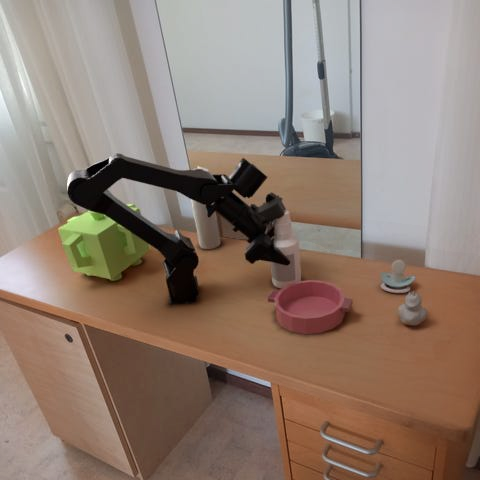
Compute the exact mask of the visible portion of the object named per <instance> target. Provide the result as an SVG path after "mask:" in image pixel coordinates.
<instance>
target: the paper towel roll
mask: <svg viewBox="0 0 480 480" xmlns="http://www.w3.org/2000/svg"><path fill="white" fill-rule="evenodd" d="M192 170H201V171H207V172H209V173H210V169H208V168H207V167H204V166H199V165H197V168H193V169H192ZM190 203H191V207H192V213H193V218H194V224H195V228H196V234H197V239H198V245H199V247H200V248H201V249H202V250H213V249H216V248H217V247H219V246H220V245H221V235H220V230H219V223H218V218H217V217H218V216H217V212H214V213H213V214H212V216H211V217H207V209H206V207H205V206H206V205H203V204H201V203H199V202H196V201H194V200H192V199H190Z"/></svg>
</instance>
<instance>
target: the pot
mask: <svg viewBox="0 0 480 480" xmlns="http://www.w3.org/2000/svg"><path fill="white" fill-rule="evenodd" d="M353 300H354V299H353V298H349V297H346V296H345V293H344V291H343V289H341V288H340V287H339V286H337V285H336V284H334V283H331V282H328V281H325V280H317V279H307V280H301V281H298V282H295V283H292V284H289V285H287V286H286V287H284V288H283V289H281V288H280V289H272V291H271V293H270V294H269V296H267V302H268V303H274V307H275V317H276V322H277V323H278V324H279V325H280V326H281V327H282V328H283V329H285V330H287V331H289V332H291V333H296V334H303V335H315V334H322V333H325V332H328V331H330V330H332V329H335V328H336V327H337V326H339V325H340V324H341V323H342V322H343V320H344V318H345V316H346V313H349V312H350V310H351V307H352V305H353V304H354V303H353V302H354V301H353Z"/></svg>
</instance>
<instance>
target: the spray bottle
mask: <svg viewBox="0 0 480 480" xmlns="http://www.w3.org/2000/svg"><path fill="white" fill-rule="evenodd" d="M284 213H285V214H284V216H282V217H281V218H279V219H275V220H274V237H272V238H271V240H272V239H273V238H275V245H276V247H277V248H278V249H279V250H280V251H281V252H282V253H283V254H284V255H285V256H286V257H287V258H288V260H289V261H290V264H289V265H288V266H286V265H282V264H278V263H273V262H270V270H271V282H272V284H273V286H274V287H275V288H278V289H280V290H281V289H283V288H284V287H286V286H287V285H289V284H292V283H295V282H298V281H302V274H301V255H300V254H301V253H300V240H299V239H300V238H299V237H298V236H296V235H295V234H293V229H292V227H293V226H292V220H291V213H290V211H289V210H287V209H286V210H285V211H284Z"/></svg>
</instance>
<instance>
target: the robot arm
mask: <svg viewBox="0 0 480 480" xmlns="http://www.w3.org/2000/svg"><path fill="white" fill-rule="evenodd" d="M268 178H269V177H268V175H266V174H265V173H264V172H263V171H262V170H261V169H259V168H258V167H257V166H256V165H255V164H253V163H251V162H250V161H249V160H247V159H246V158H245V157H242V158H241V159H240V160H239V162H238V164H237V166H236V167H235V169H234V170H233V171H232V173H231V174H230V175H229V176H228V175H227V174H225V173H224V174H223V173H221V174H212V173H211V172H210V171H209V172H207V171H201V170H193V169H185V170H183V169H175V168H171V167H167V166H164V165H159V164H156V163H152V162H148V161H145V160H140V159H137V158H133V157H129V156H126V155H124V154H123V153H118V152H117V153H113V154H112V155H110V156H109V157H107V158H105V159H103V160H99V161H98V162H95V163H93V164H91V165H89V166H88V167H86V168H78V169H75V170H72V172H71V173H69V176H68V178H67V190H66V192H67V197H68V198H69V201H70V202H72V203H73V204H74V205H76V206H77V207H79V208H83V209H85V210H87V211H92V212H96V213H100V214H104V215H106V216H107V217H109V218H110V219H112V220H113V221H115V222H116V223H118V224H119V225H121V226H122V227H124V228H125V229H127V230H128V231H130V232H131V233H133V234H134V235H136V236H137V237H139V238H140V239H142V240H143V241H145V242H146V243H148V244H149V246H151V247H153V248H154V249H155V250H157V251H158V252H159V253H160V254H161V255H162V256H163V258H164V260H163V261H162V264H163V268H164V271H165V284H166V287H167V290H168V291H167V292H168V295H169V301H168V303H169V305H171V306H173V305H183V304H192V303H196V302H197V300H198V296H199V295H200V286H199V282H198V276H197V275H195V273H194V272H195V270H196V269H197V267H198V266H199V263H200V260H199V259H200V258H199V256H198V253H197V250H196V248H195V246H194V244H193V242H192V239H191V238H190V237H188V236H186V235H184V234H183V233H181V232H180V231H179V229H176V230H175V232H174V233H169V232H166V231H164V230H163V229H162V228H160V227H159V226H157V224H154V223H153V222H152V221H150V220H149V219H147V218H146V217H145V216H144V215H142V214H141V215H140V214H139V213H137V212H136V211H134V210H133V209H131V208H130V207H129V206H127V205H126V204H127V203H124V202H123V201H122V200H120V199H118V198H117V197H116V196H115V195H114V194H113V193H112V192H111V191H110V190H109V189H110V188H111V187H112V186H113V185H114V184H116V183H117V182H119V181H120V180H122V179H125V180H129V181H134V182H137V183H141V184H145V185H149V186H153V187H158V188H161V189H165V190H170V191H175V192H177V193H179V194H181V195H182V196H185V197H187V198H188V199H189V200H191V199H192V200H194V201H196V202H199V203H201V204H203V205H206V206H205V207H206V209H207V217H211V216H212V214H213V213H214V212H216V214H218V215H219V216H220V217H222V218H223V219H224V220H225V221H226V222H228V224H230V225H231V226H233V228H232V231H233V232H234V233H237V232H238V231H239V232H240V233H241V234H243V236H245V237H246V242H247V243H248V244H249V245H248V246H247V247H246V250H245V253H244V259H245V260H246V261H247V262H249V264H251V265H254V264H255V263H256V262H259V261H261V262H268V263H271V262H273V263H278V264H282V265H286V266H288V265H289V264H290V261H289V260H288V258H287V257H286V256H285V255H284V254H283V253H282V252H281V251H280V250H279V249H278V248H277V247H276V245H275V238H273V239H272V240H271V238H272V237H274V220H275V219H279V218H281V217H282V216H284V214H285V213H284V211H285V210H287V208H286V206H285V205H284V203H283V197H280V195H277V194H276V193H274V192H270V193H267V194H265V195H266V196H265V202H262V204H261V205H259V206H257V205H256V203H251V204H248V203H246V201H244V200H243V199H246V198H248V199H250V198H253V196H254V195H255V194H256V193H257V191H259V189H260V187H261V186H262V185H263V184H264V183H265V182H266V180H267V179H268ZM234 191H235V192H236V193H237V194H238V195H239V196H241V197H242V198H243V199H242V198H241V197H239V196H238V195H237V194H236V193H234Z"/></svg>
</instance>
